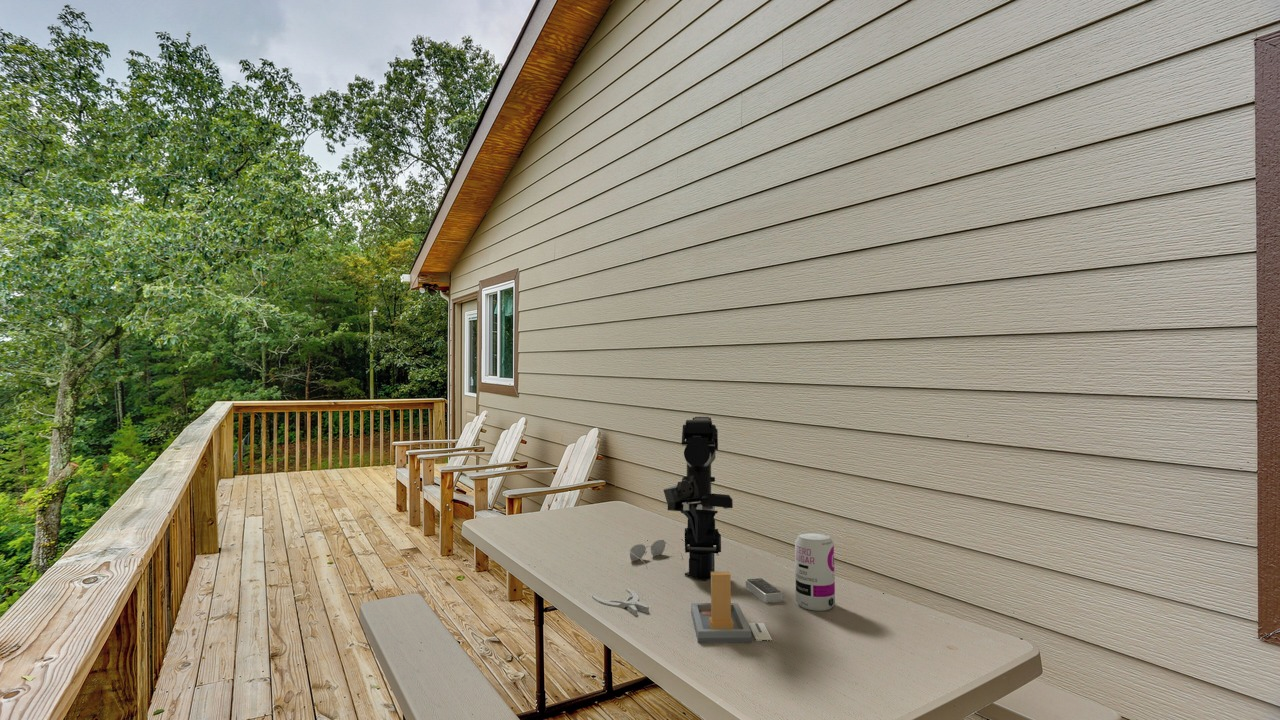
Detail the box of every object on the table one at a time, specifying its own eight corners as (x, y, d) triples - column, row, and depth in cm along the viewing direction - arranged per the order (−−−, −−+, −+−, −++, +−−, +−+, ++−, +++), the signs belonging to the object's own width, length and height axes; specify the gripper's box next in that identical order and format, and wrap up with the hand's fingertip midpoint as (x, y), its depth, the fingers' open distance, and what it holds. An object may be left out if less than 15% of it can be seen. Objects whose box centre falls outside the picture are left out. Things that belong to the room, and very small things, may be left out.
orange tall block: (708, 623, 121) (708, 570, 121) (731, 623, 121) (730, 570, 121) (710, 629, 118) (710, 575, 118) (733, 629, 118) (732, 575, 118)
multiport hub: (764, 604, 135) (764, 594, 135) (745, 589, 146) (744, 579, 146) (783, 603, 136) (783, 592, 136) (762, 587, 147) (762, 577, 147)
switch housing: (691, 612, 129) (691, 603, 129) (757, 612, 129) (756, 602, 129) (698, 642, 114) (697, 631, 114) (772, 641, 114) (772, 631, 114)
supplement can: (837, 601, 136) (835, 533, 136) (832, 614, 128) (830, 542, 129) (800, 596, 139) (798, 530, 140) (793, 608, 131) (791, 538, 132)
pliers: (629, 584, 144) (662, 604, 131) (629, 591, 144) (662, 611, 131) (591, 591, 139) (621, 612, 126) (591, 598, 139) (621, 620, 126)
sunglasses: (665, 554, 176) (666, 538, 175) (684, 566, 169) (686, 548, 169) (626, 563, 167) (628, 546, 167) (646, 576, 161) (647, 557, 160)
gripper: (649, 473, 146) (647, 541, 141) (691, 464, 131) (691, 540, 126) (688, 477, 151) (687, 543, 146) (733, 469, 135) (734, 543, 131)
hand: (698, 542), depth 137 cm, fingers closed
